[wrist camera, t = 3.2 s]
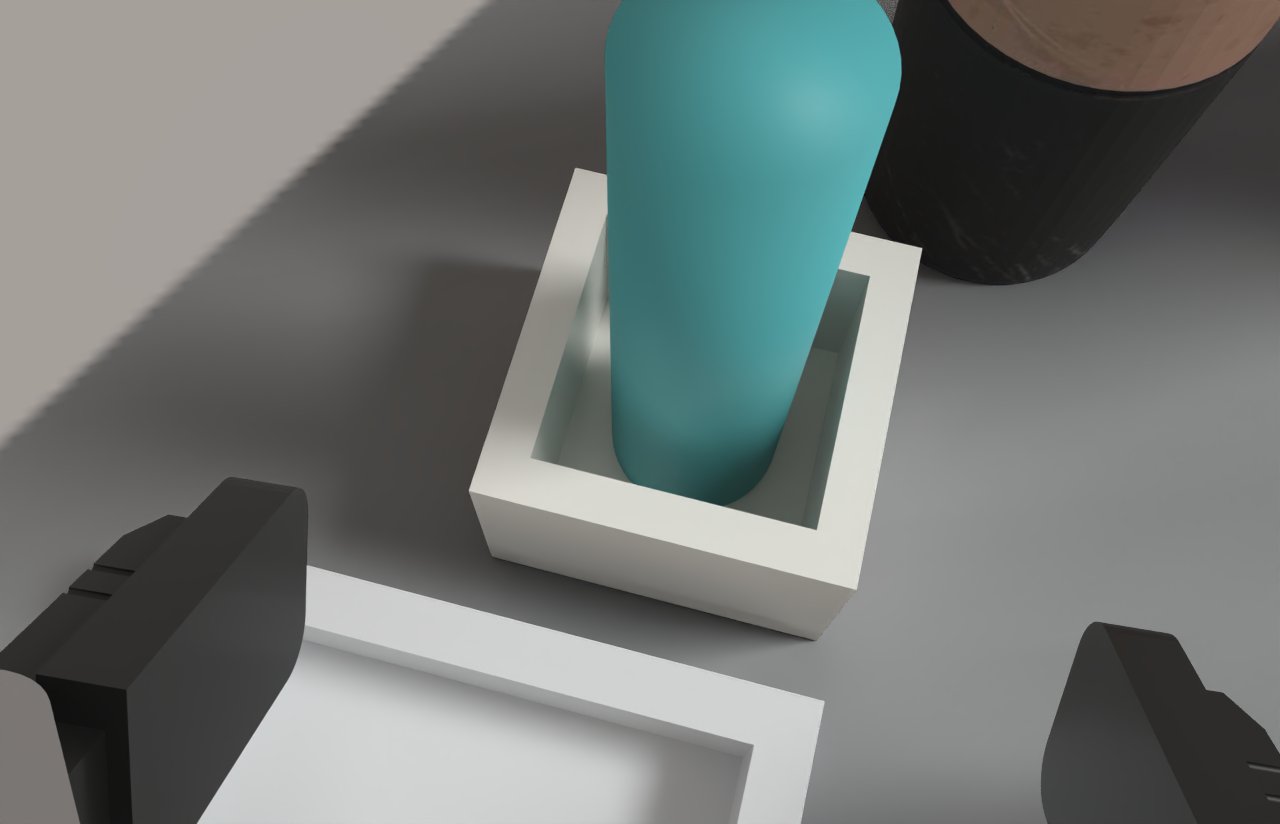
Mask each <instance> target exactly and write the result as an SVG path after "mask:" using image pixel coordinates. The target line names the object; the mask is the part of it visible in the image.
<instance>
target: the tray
mask: <svg viewBox="0 0 1280 824" xmlns="http://www.w3.org/2000/svg"><path fill="white" fill-rule="evenodd" d="M824 702H825V701H821V700H818V699H814V698H810V697H806V696H802V695H799V694H795V693H791V692H787V691H783V690H780V689H776V688H772V687H768V686H764V685H761V684H757V683H753V682H749V681H745V680H742V679H738V678H734V677H730V676H726V675H723V674H719V673H715V672H711V671H707V670H704V669H700V668H696V667H692V666H688V665H685V664H681V663H677V662H673V661H669V660H666V659H662V658H658V657H654V656H650V655H646V654H643V653H639V652H635V651H631V650H627V649H624V648H620V647H616V646H612V645H608V644H605V643H601V642H597V641H593V640H589V639H586V638H582V637H578V636H574V635H570V634H567V633H563V632H559V631H555V630H551V629H548V628H544V627H540V626H536V625H532V624H529V623H525V622H521V621H517V620H513V619H510V618H506V617H502V616H498V615H494V614H491V613H487V612H483V611H479V610H475V609H472V608H468V607H464V606H460V605H456V604H453V603H449V602H445V601H441V600H437V599H434V598H430V597H426V596H422V595H418V594H415V593H411V592H407V591H403V590H399V589H396V588H392V587H388V586H384V585H380V584H377V583H373V582H369V581H365V580H361V579H358V578H354V577H350V576H346V575H342V574H339V573H335V572H331V571H327V570H323V569H319V568H316V567H312V566H308V565H307V578H306V617H305V628H304V634H303V640H302V644H301V648H300V652H299V655H298V658H297V661H296V664H295V667H294V669H293V671H292V673H291V675H290V677H289V679H288V681H287V682H286V684H285V686H284V687H283V689H282V690H281V692H280V693H279V695H278V697H277V698H276V700H275V701H274V703H273V704H272V706H271V708H270V709H269V711H268V712H267V714H266V715H265V717H264V719H263V720H262V722H261V723H260V725H259V726H258V728H257V730H256V731H255V733H254V734H253V736H252V738H251V739H250V741H249V742H248V744H247V745H246V747H245V749H244V750H243V752H242V753H241V755H240V756H239V758H238V760H237V761H236V763H235V764H234V766H233V767H232V769H231V771H230V772H229V774H228V775H227V777H226V778H225V780H224V782H223V783H222V785H221V786H220V788H219V790H218V791H217V793H216V794H215V796H214V797H213V799H212V801H211V802H210V804H209V805H208V807H207V808H206V810H205V812H204V813H203V815H202V816H201V818H200V819H199V821H198V823H197V824H801V819H802V814H803V809H804V804H805V799H806V794H807V788H808V783H809V778H810V773H811V768H812V763H813V758H814V753H815V748H816V743H817V737H818V732H819V727H820V722H821V717H822V712H823V707H824Z"/></svg>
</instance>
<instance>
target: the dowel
mask: <svg viewBox="0 0 1280 824" xmlns="http://www.w3.org/2000/svg"><path fill="white" fill-rule="evenodd" d="M900 81H901V55H900V50H899V45H898V41H897V38H896V35H895V32H894V29H893V27H892V25H891V23H890V21H889V19H888V17H887V15H886V13H885V12H884V10H883V9H882V8H881V6H880V5H879V3H878V2H877V1H876V0H623V1H622V2H621V4H620V6H619V7H618V9H617V10H616V12H615V15H614V17H613V19H612V22H611V24H610V27H609V31H608V35H607V39H606V46H605V103H606V154H607V205H608V256H609V307H610V359H611V410H612V440H613V446H614V451H615V454H616V457H617V460H618V462H619V464H620V466H621V468H622V470H623V472H624V473H625V474H626V476H627V477H628V479H629V480H630V481H631V482H632V483H633V484H635V485H639V486H643V487H647V488H651V489H655V490H659V491H663V492H667V493H671V494H675V495H679V496H683V497H687V498H691V499H695V500H699V501H703V502H707V503H711V504H715V505H719V506H725V505H728V504H730V503H732V502H735V501H737V500H738V499H740V498H742V497H743V496H745V495H746V494H747V493H749V492H750V491H751V490H752V489H753V488H754V487H755V486H756V485H757V484H758V483H759V482H760V481H761V479H762V478H763V476H764V475H765V473H766V472H767V470H768V468H769V466H770V464H771V462H772V459H773V456H774V453H775V450H776V447H777V444H778V441H779V438H780V435H781V433H782V430H783V427H784V424H785V421H786V418H787V415H788V412H789V409H790V407H791V404H792V401H793V398H794V395H795V392H796V389H797V386H798V383H799V381H800V378H801V375H802V372H803V369H804V366H805V363H806V360H807V357H808V354H809V352H810V349H811V346H812V343H813V340H814V337H815V334H816V331H817V328H818V326H819V323H820V320H821V317H822V314H823V311H824V308H825V305H826V302H827V299H828V297H829V294H830V291H831V288H832V285H833V282H834V279H835V276H836V273H837V271H838V268H839V265H840V262H841V259H842V256H843V253H844V250H845V247H846V244H847V242H848V239H849V236H850V233H851V230H852V227H853V224H854V221H855V218H856V216H857V213H858V210H859V207H860V204H861V201H862V198H863V195H864V192H865V189H866V187H867V184H868V181H869V178H870V175H871V172H872V169H873V166H874V163H875V161H876V158H877V155H878V152H879V149H880V146H881V143H882V140H883V137H884V134H885V132H886V129H887V126H888V123H889V120H890V117H891V114H892V111H893V108H894V106H895V102H896V99H897V96H898V92H899V89H900Z"/></svg>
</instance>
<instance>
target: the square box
mask: <svg viewBox="0 0 1280 824" xmlns="http://www.w3.org/2000/svg"><path fill="white" fill-rule="evenodd" d="M921 253H922V248H919V247H915V246H910V245H906V244H902V243H898V242H893V241H889V240H885V239H880V238H876V237H872V236H867V235H863V234H859V233H854V232H851V233H850V236H849V239H848V242H847V244H846V247H845V250H844V253H843V256H842V259H841V262H840V265H839V268H838V271H837V273H836V276H835V279H834V282H833V285H832V288H831V291H830V294H829V297H828V299H827V302H826V305H825V308H824V311H823V314H822V317H821V320H820V323H819V326H818V328H817V331H816V334H815V337H814V340H813V343H812V346H811V349H810V352H809V354H808V357H807V360H806V363H805V366H804V369H803V372H802V375H801V378H800V381H799V383H798V386H797V389H796V392H795V395H794V398H793V401H792V404H791V407H790V409H789V412H788V415H787V418H786V421H785V424H784V427H783V430H782V433H781V435H780V438H779V441H778V444H777V447H776V450H775V453H774V456H773V459H772V462H771V464H770V466H769V468H768V470H767V472H766V473H765V475H764V476H763V478H762V479H761V481H760V482H759V483H758V484H757V485H756V486H755V487H754V488H753V489H752V490H751V491H750V492H749V493H747V494H746V495H745V496H743V497H742V498H740V499H738V500H737V501H735V502H732V503H730V504H728V505H725V506H719V505H715V504H711V503H707V502H703V501H699V500H695V499H691V498H687V497H683V496H679V495H675V494H671V493H667V492H663V491H659V490H655V489H651V488H647V487H643V486H639V485H635V484H633V483H632V482H631V481H630V480H629V479H628V477H627V476H626V474H625V473H624V472H623V470H622V468H621V466H620V464H619V462H618V460H617V457H616V454H615V451H614V446H613V440H612V410H611V359H610V307H609V256H608V205H607V175H605V174H601V173H596V172H592V171H588V170H583V169H579V168H575V171H574V174H573V177H572V180H571V183H570V186H569V189H568V192H567V195H566V198H565V201H564V204H563V207H562V210H561V213H560V216H559V219H558V222H557V225H556V228H555V231H554V234H553V237H552V240H551V243H550V246H549V249H548V252H547V255H546V258H545V261H544V264H543V267H542V271H541V274H540V277H539V280H538V283H537V286H536V289H535V292H534V295H533V298H532V301H531V304H530V307H529V310H528V313H527V316H526V319H525V322H524V325H523V328H522V331H521V334H520V337H519V340H518V343H517V346H516V349H515V352H514V355H513V358H512V361H511V364H510V367H509V370H508V374H507V377H506V380H505V383H504V386H503V389H502V392H501V395H500V398H499V401H498V404H497V407H496V410H495V413H494V416H493V419H492V422H491V425H490V428H489V431H488V434H487V437H486V440H485V443H484V446H483V449H482V452H481V455H480V458H479V461H478V464H477V467H476V470H475V473H474V477H473V480H472V483H471V486H470V489H469V493H470V496H471V499H472V502H473V504H474V507H475V510H476V513H477V516H478V519H479V522H480V525H481V527H482V530H483V533H484V536H485V539H486V542H487V545H488V547H489V550H490V553H491V556H492V557H495V558H499V559H503V560H507V561H510V562H514V563H518V564H522V565H526V566H530V567H534V568H537V569H541V570H545V571H549V572H553V573H557V574H561V575H564V576H568V577H572V578H576V579H580V580H584V581H588V582H591V583H595V584H599V585H603V586H607V587H611V588H615V589H618V590H622V591H626V592H630V593H634V594H638V595H642V596H645V597H649V598H653V599H657V600H661V601H665V602H669V603H672V604H676V605H680V606H684V607H688V608H692V609H696V610H699V611H703V612H707V613H711V614H715V615H719V616H723V617H726V618H730V619H734V620H738V621H742V622H746V623H750V624H753V625H757V626H761V627H765V628H769V629H773V630H777V631H780V632H784V633H788V634H792V635H796V636H800V637H804V638H807V639H811V640H815V641H817V640H818V638H819V637H820V636H821V634H822V633H823V632H824V631H825V629H826V628H827V627H828V626H829V624H830V623H831V622H832V621H833V619H834V618H835V617H836V615H837V614H838V613H839V612H840V610H841V609H842V608H843V607H844V605H845V604H846V603H847V601H848V600H849V599H850V598H851V596H852V595H853V594H854V593H855V591H856V590H857V585H858V580H859V575H860V570H861V564H862V559H863V554H864V549H865V544H866V538H867V533H868V528H869V523H870V518H871V512H872V507H873V502H874V497H875V492H876V486H877V481H878V476H879V471H880V466H881V460H882V455H883V450H884V445H885V440H886V434H887V429H888V424H889V419H890V414H891V408H892V403H893V398H894V393H895V388H896V382H897V377H898V372H899V367H900V362H901V356H902V351H903V346H904V341H905V336H906V330H907V325H908V320H909V315H910V310H911V305H912V299H913V294H914V289H915V284H916V279H917V273H918V268H919V263H920V258H921Z"/></svg>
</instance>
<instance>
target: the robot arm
mask: <svg viewBox="0 0 1280 824" xmlns="http://www.w3.org/2000/svg"><path fill="white" fill-rule="evenodd" d="M307 536H308V504H307V498H306V495H305V492H304V491H303V490H302V489H300V488H295V487H289V486H283V485H277V484H271V483H265V482H259V481H253V480H247V479H241V478H235V477H229V478H227V479H225V480H224V481H223V482H222V483H221V484H220V485H219V486H218V487H217V488H216V489H215V490H214V491H213V492H212V493H211V494H210V495H209V496H208V497H207V498H206V499H205V500H204V501H203V502H202V503H201V505H200V506H199V507H198V508H197V509H196V510H195V511H194V512H193V513H192V514H191V515H190V516H189V517H188V518H185V517H179V516H173V515H167V516H165V517H163V518H160V519H158V520H156V521H154V522H152V523H150V524H147V525H145V526H143V527H141V528H139V529H137V530H134V531H132V532H130V533H128V534H126V535H124V536H122V537H121V538H120V539H119V540H118V541H117V542H116V543H115V544H114V545H113V546H112V547H111V548H110V549H109V550H108V551H107V552H106V553H104V554H103V555H102V556H101V557H100V558H99V559H98V560H97V561H96V562H95V563H94V566H93V569H92V570H87V571H86V572H85V573H83V574H82V575H81V576H80V577H79V578H78V579H77V580H76V581H75V582H74V583H73V584H72V585H71V586H70V587H69V591H68V594H65V593H62V594H61V595H60V596H59V597H58V598H57V599H56V600H55V601H54V602H53V603H52V604H51V605H50V606H49V607H48V608H47V609H46V610H45V611H44V612H43V613H41V614H40V615H39V616H38V617H37V618H36V619H35V620H34V621H33V622H32V623H31V624H30V625H29V626H28V627H27V628H26V629H25V630H24V631H23V632H21V633H20V634H19V635H18V636H17V637H16V638H15V639H14V640H13V641H12V642H11V643H10V644H9V645H8V646H7V647H6V648H5V649H4V650H3V651H2V652H0V824H197V823H198V821H199V819H200V818H201V816H202V815H203V813H204V812H205V810H206V808H207V807H208V805H209V804H210V802H211V801H212V799H213V797H214V796H215V794H216V793H217V791H218V790H219V788H220V786H221V785H222V783H223V782H224V780H225V778H226V777H227V775H228V774H229V772H230V771H231V769H232V767H233V766H234V764H235V763H236V761H237V760H238V758H239V756H240V755H241V753H242V752H243V750H244V749H245V747H246V745H247V744H248V742H249V741H250V739H251V738H252V736H253V734H254V733H255V731H256V730H257V728H258V726H259V725H260V723H261V722H262V720H263V719H264V717H265V715H266V714H267V712H268V711H269V709H270V708H271V706H272V704H273V703H274V701H275V700H276V698H277V697H278V695H279V693H280V692H281V690H282V689H283V687H284V686H285V684H286V682H287V681H288V679H289V677H290V675H291V673H292V671H293V669H294V667H295V664H296V661H297V658H298V655H299V652H300V648H301V644H302V640H303V634H304V628H305V617H306V578H307ZM1041 796H1042V804H1043V809H1044V813H1045V817H1046V820H1047V823H1048V824H1280V754H1279V752H1278V750H1277V749H1276V747H1275V745H1274V744H1273V742H1272V740H1271V739H1270V737H1269V736H1268V734H1267V732H1266V731H1265V729H1264V728H1262V727H1261V726H1260V725H1259V724H1258V723H1257V722H1256V721H1255V720H1253V719H1252V718H1251V717H1250V716H1249V715H1248V714H1247V713H1245V712H1244V711H1243V710H1242V709H1241V708H1240V707H1239V706H1238V705H1236V704H1235V703H1234V702H1233V701H1232V700H1231V699H1230V698H1228V697H1227V696H1226V695H1225V694H1224V693H1221V692H1215V691H1209V690H1206V689H1205V687H1204V685H1203V684H1202V682H1201V680H1200V678H1199V677H1198V675H1197V673H1196V671H1195V669H1194V668H1193V666H1192V664H1191V662H1190V661H1189V659H1188V657H1187V655H1186V654H1185V652H1184V650H1183V648H1182V646H1181V645H1180V643H1179V641H1178V640H1177V639H1176V637H1174V636H1173V635H1171V634H1168V633H1162V632H1156V631H1150V630H1144V629H1138V628H1132V627H1126V626H1120V625H1114V624H1108V623H1102V622H1093V623H1092V624H1090V625H1089V626H1088V627H1087V629H1086V630H1085V632H1084V634H1083V636H1082V638H1081V640H1080V643H1079V646H1078V649H1077V652H1076V655H1075V658H1074V661H1073V664H1072V667H1071V670H1070V674H1069V677H1068V680H1067V683H1066V686H1065V689H1064V692H1063V695H1062V698H1061V701H1060V704H1059V707H1058V710H1057V713H1056V716H1055V720H1054V723H1053V726H1052V729H1051V732H1050V735H1049V738H1048V741H1047V744H1046V748H1045V752H1044V757H1043V763H1042V772H1041Z"/></svg>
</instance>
